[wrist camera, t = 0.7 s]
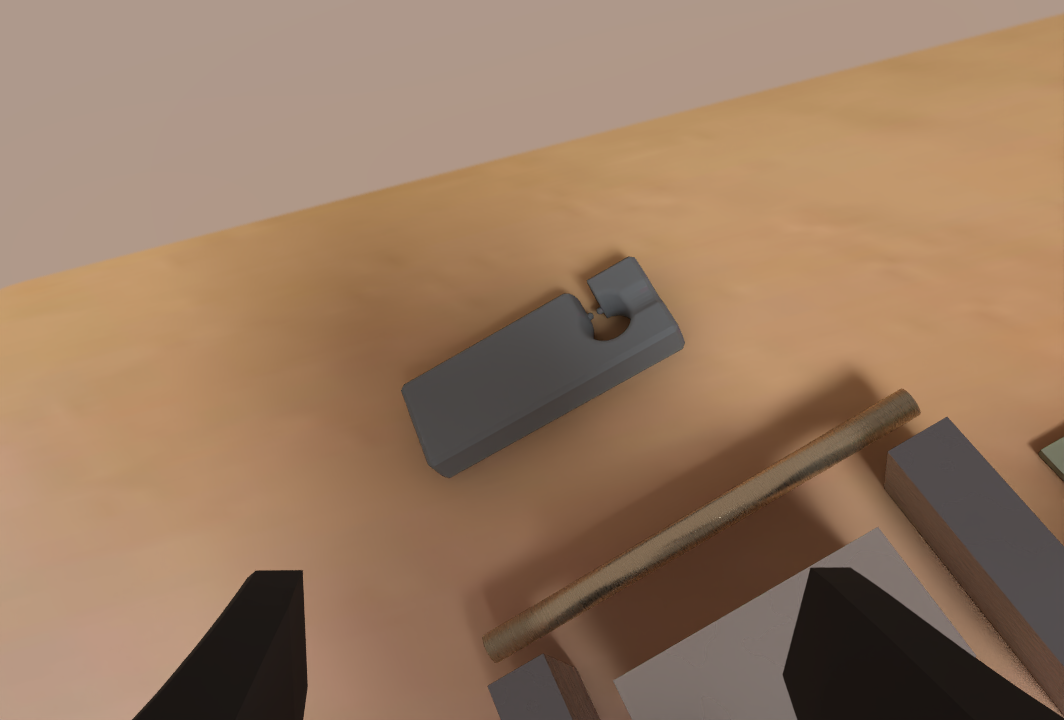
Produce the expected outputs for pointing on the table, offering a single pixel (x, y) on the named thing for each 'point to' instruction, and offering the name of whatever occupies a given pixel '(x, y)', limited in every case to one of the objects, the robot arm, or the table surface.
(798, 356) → the table surface
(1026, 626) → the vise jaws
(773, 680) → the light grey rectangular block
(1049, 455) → the mat
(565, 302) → the bracket
